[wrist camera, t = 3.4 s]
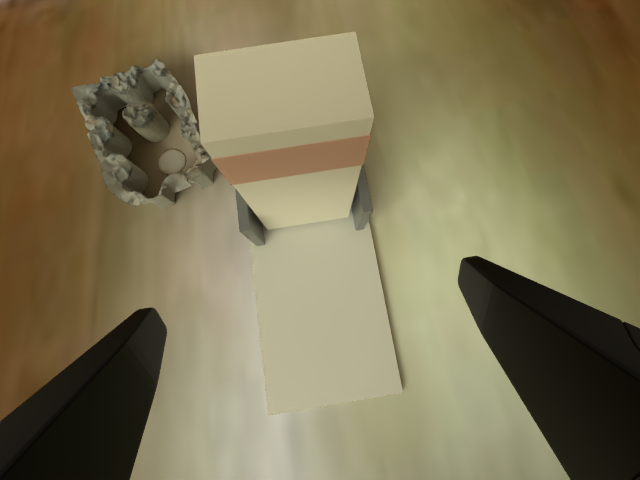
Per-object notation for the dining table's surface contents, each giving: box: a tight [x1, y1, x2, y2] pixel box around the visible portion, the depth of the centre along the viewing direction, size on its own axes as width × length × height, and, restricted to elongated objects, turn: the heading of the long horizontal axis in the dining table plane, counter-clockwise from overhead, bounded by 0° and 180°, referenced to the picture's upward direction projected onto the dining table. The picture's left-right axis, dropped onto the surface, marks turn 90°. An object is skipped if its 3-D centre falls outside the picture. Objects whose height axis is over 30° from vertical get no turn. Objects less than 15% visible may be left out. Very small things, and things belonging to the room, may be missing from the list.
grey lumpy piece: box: [72, 59, 217, 208], centre depth 23 cm, size 11×8×4 cm
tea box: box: [194, 32, 374, 230], centre depth 16 cm, size 4×6×12 cm, turn 99°
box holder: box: [235, 164, 403, 415], centre depth 20 cm, size 17×9×5 cm, turn 9°
